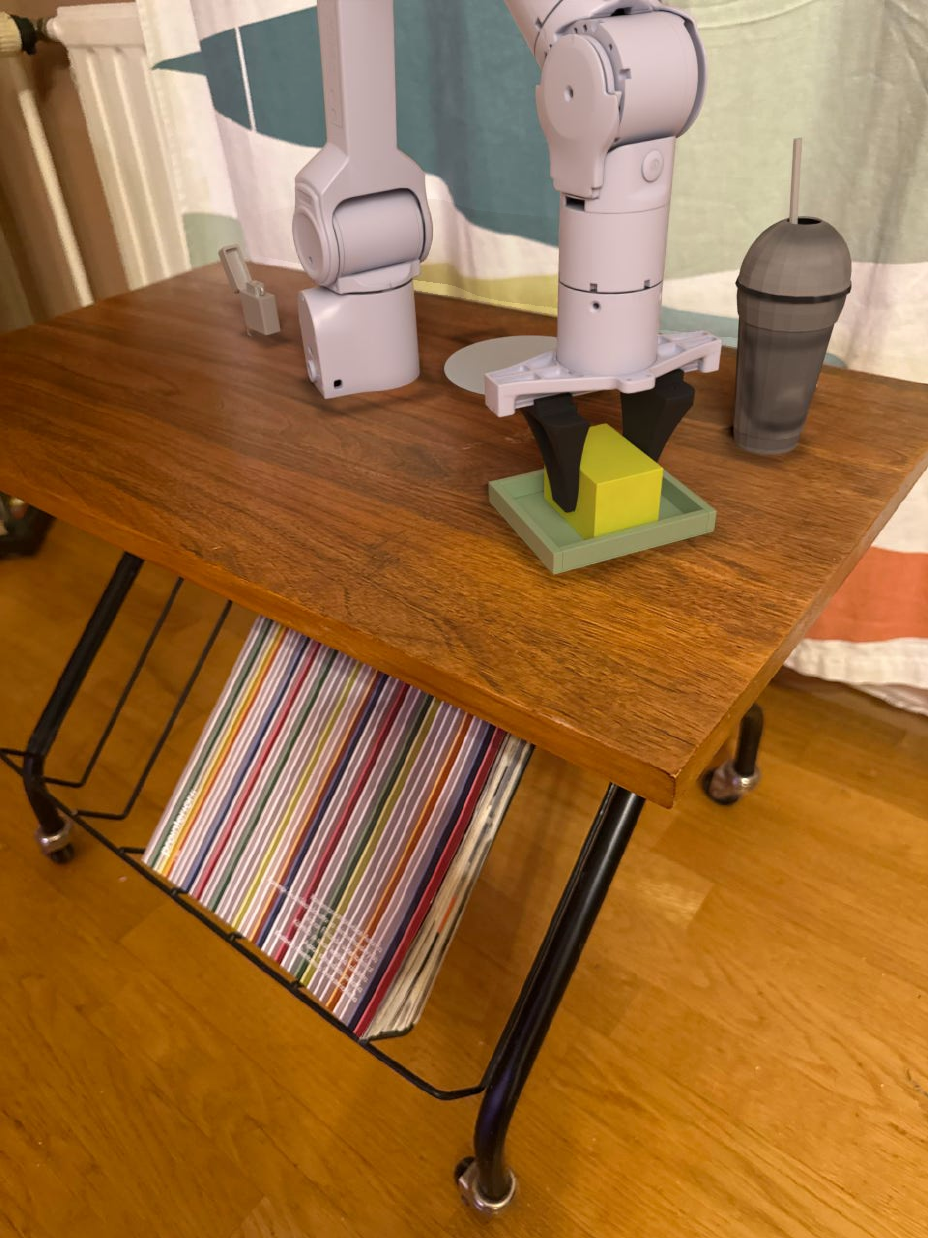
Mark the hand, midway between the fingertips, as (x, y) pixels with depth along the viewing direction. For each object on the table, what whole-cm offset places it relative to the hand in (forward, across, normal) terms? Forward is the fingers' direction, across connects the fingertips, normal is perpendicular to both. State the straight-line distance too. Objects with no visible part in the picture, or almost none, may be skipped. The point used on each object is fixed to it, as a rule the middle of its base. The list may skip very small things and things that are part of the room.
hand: (598, 496), depth 57 cm
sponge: (+1, 0, 0) cm, 1 cm away
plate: (+2, +6, +24) cm, 25 cm away
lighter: (+2, -13, +46) cm, 48 cm away
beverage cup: (+2, +16, +4) cm, 17 cm away
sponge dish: (+2, 0, 0) cm, 2 cm away
